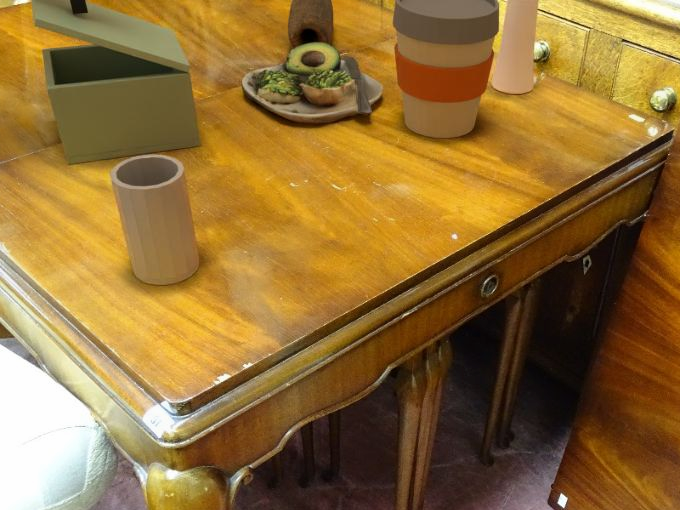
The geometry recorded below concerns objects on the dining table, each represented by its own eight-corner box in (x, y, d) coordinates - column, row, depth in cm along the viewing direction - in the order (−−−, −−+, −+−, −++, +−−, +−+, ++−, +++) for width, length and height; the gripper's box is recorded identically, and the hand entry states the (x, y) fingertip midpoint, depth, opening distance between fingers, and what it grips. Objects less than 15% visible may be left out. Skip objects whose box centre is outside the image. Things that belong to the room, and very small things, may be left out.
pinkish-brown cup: (124, 283, 70) (99, 186, 64) (144, 245, 75) (124, 152, 68) (190, 287, 70) (172, 191, 64) (206, 249, 75) (191, 156, 68)
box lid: (34, 26, 76) (35, 18, 76) (30, -10, 84) (31, -17, 84) (188, 72, 85) (190, 65, 85) (171, 36, 93) (173, 29, 93)
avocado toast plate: (420, 111, 101) (421, 77, 98) (300, 144, 92) (298, 108, 89) (340, 62, 112) (339, 30, 109) (227, 87, 103) (223, 53, 101)
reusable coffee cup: (370, 119, 98) (370, -3, 89) (438, 93, 105) (445, -22, 96) (441, 155, 92) (449, 28, 82) (508, 125, 99) (523, 4, 89)
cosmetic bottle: (490, 92, 106) (510, -83, 92) (490, 75, 111) (508, -94, 97) (534, 96, 106) (560, -79, 92) (532, 78, 111) (556, -91, 97)
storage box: (67, 164, 86) (46, 88, 80) (61, 120, 94) (41, 48, 88) (200, 146, 91) (190, 73, 85) (183, 105, 99) (172, 36, 93)
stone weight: (288, 24, 123) (285, -19, 119) (332, 24, 124) (331, -19, 120) (289, 61, 112) (286, 13, 107) (338, 60, 113) (337, 14, 108)
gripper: (-73, -268, 62) (13, 27, 77) (98, -263, 67) (148, 15, 82) (-68, -274, 68) (11, 3, 83) (90, -269, 72) (138, -7, 87)
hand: (79, 9), depth 82 cm, fingers closed
